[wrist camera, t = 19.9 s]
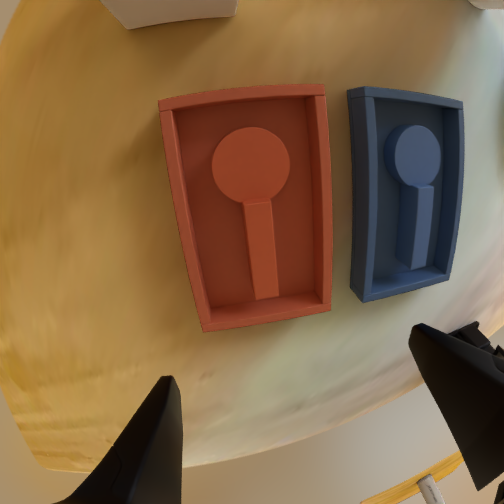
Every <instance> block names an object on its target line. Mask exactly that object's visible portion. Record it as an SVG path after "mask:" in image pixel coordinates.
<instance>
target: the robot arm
mask: <svg viewBox="0 0 504 504" xmlns="http://www.w3.org/2000/svg"><path fill="white" fill-rule="evenodd" d="M478 326H479V322H478V321H476V322H474V323H472V324H469V325H467V326H465V327H463V328H461V329H458V330H456V331H454V332H451V333H449V334H446V333H443V332H441V331H439V330H437V329H434V328H432V327H430V326H428V325H425V324H423V323H420V324H417V325H414V326H413V327H412V330H411V334H410V338H409V342H408V344H409V348H410V350H411V352H412V354H413V357H414V359H415V361H416V364H417V366H418V368H419V371H420V373H421V375H422V377H423V379H424V381H425V383H426V385H427V386H428V388H429V390H430V392H431V394H432V396H433V397H434V399H435V401H436V403H437V405H438V407H439V409H440V411H441V413H442V414H443V417H444V419H445V420H446V422H447V424H448V427H449V429H450V431H451V433H452V435H453V437H454V439H455V441H456V443H457V445H458V447H459V449H460V452H461V453H462V456H463V459H464V461H465V463H466V465H467V468H468V470H469V472H470V475H471V477H472V479H473V482H474V484H475V487H476V489H477V491H479V490H481V489H482V488H483V487H485V486H486V485H488V484H489V483H490V482H492V481H493V480H494V479H495V478H497V477H498V476H499V475H500V474H502V473H503V472H504V349H502V348H501V347H500V346H499V345H498V346H497V347H496V350H495V349H494V348H493V347H492V346H491V345H490V341H489V340H488V339H487V338H486V337H485V336H484V335H483V334H482V333H481V332H480V331H479V330H478ZM182 447H183V424H182V411H181V396H180V390H179V388H178V386H177V383H176V381H175V379H174V377H173V376H171V375H170V376H162V377H160V379H159V380H158V381H157V383H156V384H155V386H154V387H153V388H152V390H151V391H150V393H149V394H148V396H147V397H146V398H145V400H144V401H143V403H142V404H141V406H140V407H139V408H138V410H137V411H136V413H135V414H134V416H133V417H132V418H131V420H130V421H129V423H128V424H127V426H126V427H125V428H124V430H123V431H122V433H121V434H120V436H119V437H118V438H117V440H116V441H115V443H114V444H113V446H112V447H111V448H110V450H109V451H108V453H107V454H106V455H105V457H104V458H103V459H102V461H101V462H100V463H99V464H98V466H97V467H96V468H95V469H94V470H93V472H92V473H91V474H90V475H89V476H88V477H87V478H86V479H85V481H83V483H82V484H81V485H80V486H79V487H78V488H77V489H76V490H75V491H74V492H73V493H72V494H71V495H70V496H69V497H67V498H66V499H64V500H62V501H60V502H57V503H53V504H181V481H182V480H181V478H182ZM494 504H504V481H502V482H501V483H500V484H499V486H498V490H497V494H496V498H495V501H494Z"/></svg>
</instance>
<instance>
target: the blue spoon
mask: <svg viewBox="0 0 504 504" xmlns="http://www.w3.org/2000/svg"><path fill="white" fill-rule="evenodd" d="M384 161H385V165H386V168H387V170H388V172H389V174H390V175H391V176H392V177H393V178H394V179H395V180H396V181H398V182H400V202H399V221H398V234H397V245H396V255H395V257H396V258H397V259H398V260H399V261H401V262H402V263H403V264H404V265H405V266H407V267H408V268H409V269H411V270H412V269H416V268H420V267H424V266H425V264H426V258H427V252H428V245H429V237H430V228H431V219H432V208H433V194H434V187H433V186H430V185H428V184H430V183H431V182H432V181H433V180H434V178H435V177H436V175H437V173H438V171H439V168H440V163H441V151H440V146H439V143H438V141H437V139H436V137H435V136H434V134H433V133H432V132H431V131H430V130H429V129H427V128H425V127H423V126H419V125H400V126H398V127H396V128H395V129H394V130H392V131H391V133H390V134H389V135H388V137H387V139H386V142H385V146H384Z"/></svg>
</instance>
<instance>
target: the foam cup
mask: <svg viewBox="0 0 504 504" xmlns="http://www.w3.org/2000/svg"><path fill="white" fill-rule="evenodd" d="M468 1H469V2H470V3H471V4H472V5H473V6H475V7H477V8H479V9H504V0H468Z"/></svg>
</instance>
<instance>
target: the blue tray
mask: <svg viewBox="0 0 504 504" xmlns="http://www.w3.org/2000/svg"><path fill="white" fill-rule="evenodd" d="M347 97H348V107H349V119H350V133H351V151H352V180H353V229H352V259H351V277H350V288H351V289H352V290H353V292H354V293H355V294H356V296H357V297H358V298H359V299H360V301H361V302H362V303H366V302H370V301H374V300H378V299H382V298H386V297H390V296H394V295H398V294H401V293H405V292H409V291H413V290H416V289H420V288H423V287H427V286H430V285H434V284H437V283H441V282H444V281H447V280H449V278H450V273H451V268H452V264H453V259H454V253H455V248H456V242H457V235H458V229H459V221H460V213H461V204H462V193H463V178H464V113H463V102H462V101H459V100H454V99H450V98H445V97H440V96H435V95H429V94H424V93H418V92H411V91H404V90H397V89H388V88H379V87H368V86H363V87H358V88H353V89H349V90H347ZM400 125H419V126H423V127H425V128H427V129H429V130H430V131H431V132H432V133H433V134H434V136H435V137H436V139H437V141H438V143H439V146H440V151H441V163H440V168H439V171H438V173H437V175H436V177H435V178H434V180H433V181H432V182H431V183H430V184H428V185H430V186H433V187H434V194H433V208H432V219H431V228H430V237H429V245H428V252H427V258H426V264H425V266H424V267H420V268H416V269H412V270H411V269H409V268H408V267H407V266H405V265H404V264H403V263H402V262H401V261H399V260H398V259H397V258H396V257H395V255H396V245H397V234H398V221H399V202H400V182H398V181H396V180H395V179H394V178H393V177H392V176H391V175H390V174H389V172H388V170H387V168H386V165H385V161H384V146H385V142H386V139H387V137H388V135H389V134H390V133H391V131H392V130H394V129H395V128H396V127H398V126H400Z"/></svg>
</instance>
